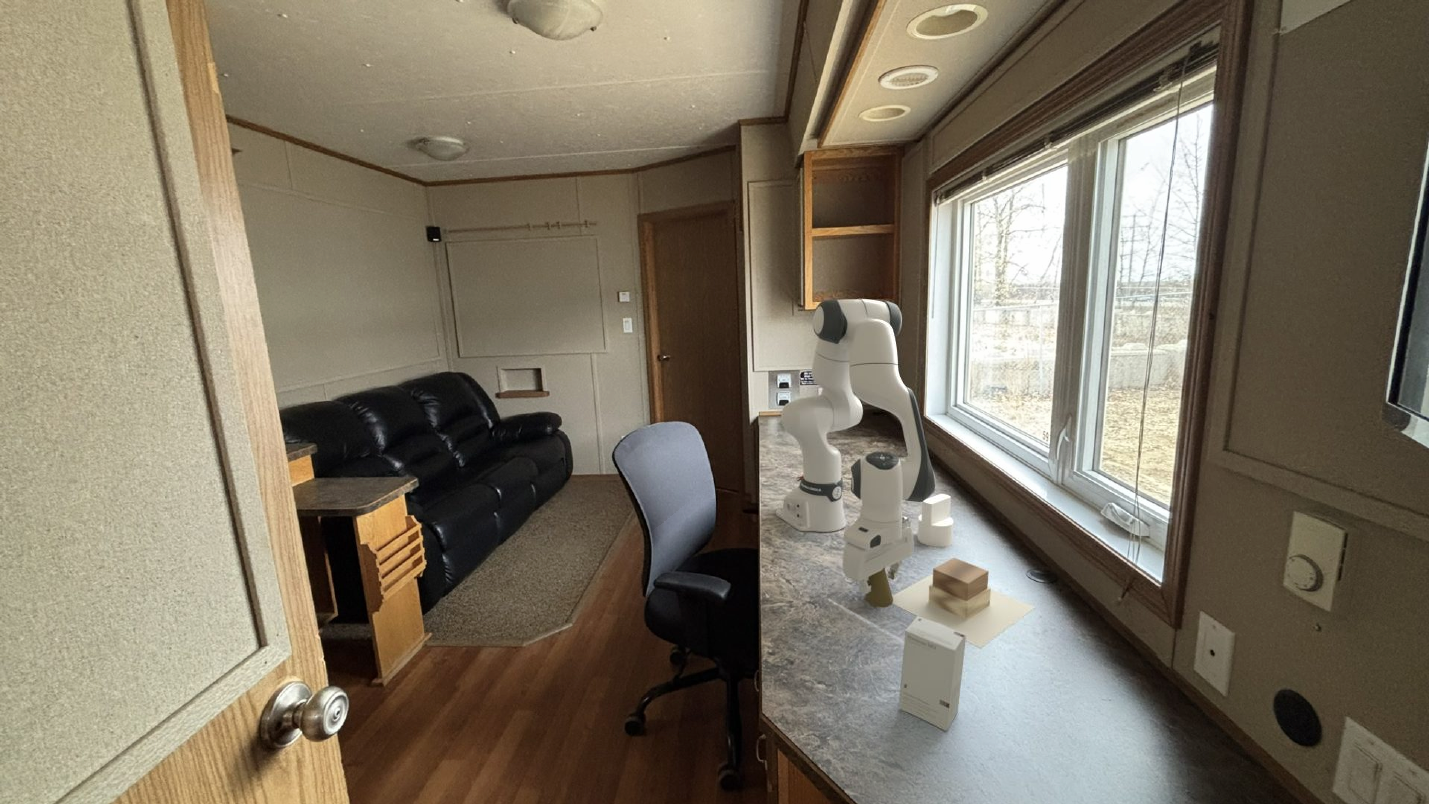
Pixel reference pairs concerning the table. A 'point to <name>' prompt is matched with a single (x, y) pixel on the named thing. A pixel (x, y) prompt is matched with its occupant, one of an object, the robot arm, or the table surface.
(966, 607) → the bottom block
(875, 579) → the olive rounded upright piece
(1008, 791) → the table surface
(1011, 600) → the felt mat
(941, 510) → the cylinder with rectangular tab
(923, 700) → the skincare box
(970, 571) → the top block
